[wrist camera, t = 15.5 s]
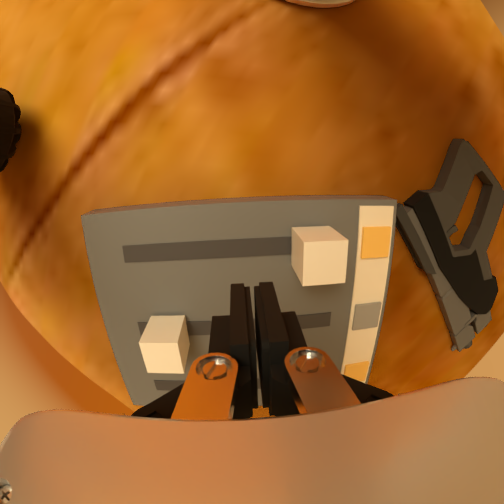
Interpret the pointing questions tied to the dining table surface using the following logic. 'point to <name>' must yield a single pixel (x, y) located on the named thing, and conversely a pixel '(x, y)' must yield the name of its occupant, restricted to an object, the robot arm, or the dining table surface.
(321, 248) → the knob
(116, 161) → the dining table surface
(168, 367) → the knob
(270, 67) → the dining table surface
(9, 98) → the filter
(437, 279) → the pistol
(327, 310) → the switch board
